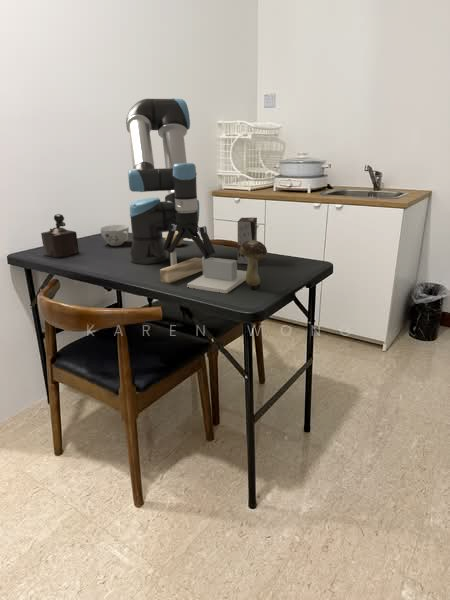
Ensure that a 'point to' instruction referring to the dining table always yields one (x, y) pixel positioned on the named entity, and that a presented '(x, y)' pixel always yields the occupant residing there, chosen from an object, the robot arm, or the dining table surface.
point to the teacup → (115, 234)
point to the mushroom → (253, 260)
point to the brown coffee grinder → (59, 240)
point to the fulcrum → (219, 276)
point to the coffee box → (246, 235)
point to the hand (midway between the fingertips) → (189, 271)
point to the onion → (175, 237)
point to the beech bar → (181, 270)
